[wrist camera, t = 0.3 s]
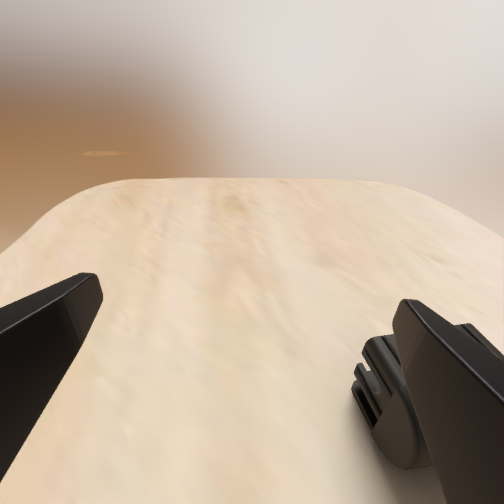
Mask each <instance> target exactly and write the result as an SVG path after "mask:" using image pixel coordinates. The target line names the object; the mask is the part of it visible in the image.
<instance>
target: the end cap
mask: <svg viewBox="0 0 504 504" xmlns="http://www.w3.org/2000/svg"><path fill="white" fill-rule="evenodd" d="M454 326H455V327H457V328H458V329H460V330H461V331H462V332H464V333H465V334H467V335H468V336H470V337H471V338H472V339H474V340H475V341H477V342H478V343H479V344H481V345H482V346H484V347H485V348H486V349H488V350H489V351H491V352H492V353H494V354H495V355H496V356H498V357H499V358H501V359H502V360H503V361H504V355H503V354H502V353H501V352H500V351H499V350H498V349H497V348H496V347H494V346H493V345H492V344H491V343H490V342H489V341H488V340H487V339H486V338H485V337H484V336H483V335H482V334H481V333H480V332H479V331H478V330H477V329H476V328H475V327H474V326H473V325H472V324H470V323H467V324H460V325H454ZM362 355H363V357H364V359H365V360H366V362H367V364H368V365H369V367H370V369H371V371H366V369H365V367H364V365H363V363H358V364H357V366H356V368H355V371H354V375H355V377H356V379H357V380H356V381H354V383H353V385H352V392H353V394H354V396H355V398H356V400H357V402H358V405H359V407H360V409H361V411H362V413H363V415H364V417H365V419H366V421H367V423H368V425H369V427H370V429H371V431H372V432H371V434H372V436H373V438H374V440H375V442H376V443H377V445H378V446H379V448H380V450H381V451H382V452H383V453H384V455H385V456H386V457H387V458H388V459H389V460H390V461H391V462H392V463H393V464H395V465H396V466H398V467H400V468H402V469H405V470H409V469H415V468H420V467H424V466H428V465H432V464H433V461H432V458H431V456H430V453H429V450H428V447H427V444H426V441H425V438H424V435H423V432H422V429H421V426H420V423H419V421H418V418H417V415H416V412H415V409H414V406H413V403H412V400H411V397H410V394H409V391H408V388H407V386H406V382H405V379H404V376H403V372H402V368H401V363H400V359H399V354H398V350H397V345H396V341H395V336H394V334H391V335H384V336H377V337H373V338H370V339H369V340H368V341H367V342H366V343H365V346H364V348H363V351H362Z"/></svg>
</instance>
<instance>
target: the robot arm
mask: <svg viewBox="0 0 504 504" xmlns="http://www.w3.org/2000/svg"><path fill="white" fill-rule="evenodd" d="M102 301H103V293H102V289H101V286H100V282H99V279H98V276H97V275H96V274H94V273H79V274H77V275H74V276H72V277H70V278H68V279H65V280H63V281H61V282H58V283H56V284H54V285H52V286H49V287H47V288H45V289H43V290H40V291H38V292H36V293H33V294H31V295H29V296H27V297H24V298H22V299H20V300H18V301H15V302H13V303H11V304H8V305H6V306H4V307H2V308H0V482H1V481H2V479H3V477H4V476H5V474H6V472H7V471H8V469H9V467H10V466H11V464H12V462H13V461H14V459H15V457H16V456H17V454H18V452H19V451H20V449H21V447H22V446H23V444H24V442H25V441H26V439H27V437H28V436H29V434H30V432H31V431H32V429H33V427H34V426H35V424H36V422H37V420H38V419H39V417H40V415H41V414H42V412H43V410H44V409H45V407H46V405H47V404H48V402H49V400H50V399H51V397H52V395H53V394H54V392H55V390H56V389H57V387H58V385H59V384H60V382H61V380H62V379H63V377H64V375H65V374H66V372H67V370H68V369H69V367H70V365H71V364H72V362H73V360H74V359H75V357H76V355H77V354H78V352H79V350H80V348H81V346H82V344H83V342H84V341H85V338H86V336H87V334H88V332H89V330H90V328H91V326H92V323H93V321H94V319H95V317H96V315H97V313H98V310H99V308H100V306H101V304H102ZM392 326H393V332H394V336H395V341H396V345H397V350H398V354H399V359H400V363H401V368H402V372H403V376H404V379H405V382H406V386H407V388H408V391H409V394H410V397H411V400H412V403H413V406H414V409H415V412H416V415H417V418H418V421H419V423H420V426H421V429H422V432H423V435H424V438H425V441H426V444H427V447H428V450H429V453H430V456H431V458H432V461H433V464H434V467H435V470H436V473H437V476H438V479H439V482H440V485H441V488H442V491H443V493H444V496H445V499H446V502H447V504H504V361H503V360H502V359H501V358H499V357H498V356H496V355H495V354H494V353H492V352H491V351H489V350H488V349H486V348H485V347H484V346H482V345H481V344H479V343H478V342H477V341H475V340H474V339H472V338H471V337H470V336H468V335H467V334H465V333H464V332H462V331H461V330H460V329H458V328H457V327H455V326H454V325H453V324H451V323H450V322H448V321H447V320H445V319H444V318H443V317H441V316H440V315H438V314H437V313H436V312H434V311H433V310H431V309H430V308H429V307H427V306H426V305H424V304H423V303H421V302H420V301H418V300H413V299H403V300H401V301H400V303H399V306H398V308H397V311H396V313H395V316H394V318H393V323H392Z"/></svg>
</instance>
